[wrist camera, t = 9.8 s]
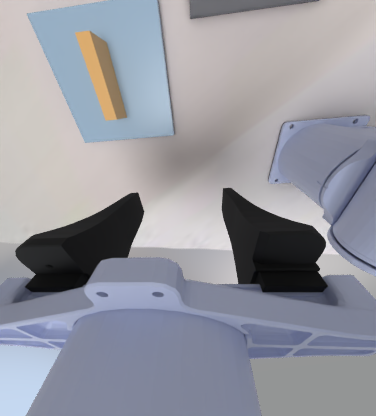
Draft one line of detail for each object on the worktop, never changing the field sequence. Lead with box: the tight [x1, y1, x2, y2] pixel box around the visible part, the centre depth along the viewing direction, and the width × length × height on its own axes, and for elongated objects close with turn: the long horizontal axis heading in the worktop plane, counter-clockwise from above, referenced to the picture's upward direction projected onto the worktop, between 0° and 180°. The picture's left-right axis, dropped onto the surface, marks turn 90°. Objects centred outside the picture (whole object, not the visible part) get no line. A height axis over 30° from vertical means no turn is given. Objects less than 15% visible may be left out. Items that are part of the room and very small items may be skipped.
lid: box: [27, 0, 174, 143], centre depth 15 cm, size 12×11×4 cm
